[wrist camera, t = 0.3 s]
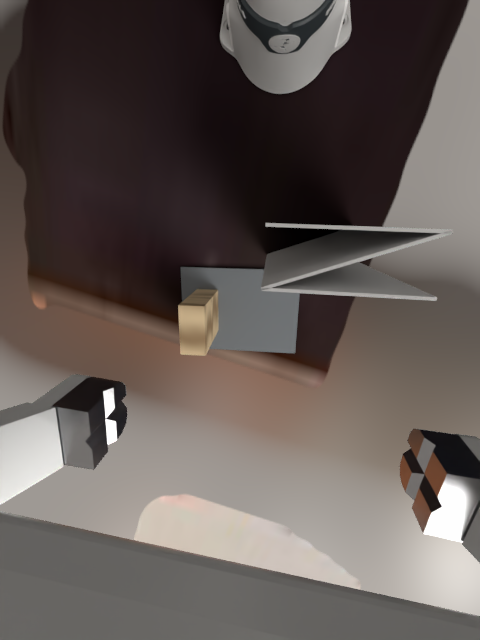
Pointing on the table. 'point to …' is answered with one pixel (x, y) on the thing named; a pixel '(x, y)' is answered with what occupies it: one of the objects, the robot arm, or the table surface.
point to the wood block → (198, 321)
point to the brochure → (344, 262)
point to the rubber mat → (246, 309)
